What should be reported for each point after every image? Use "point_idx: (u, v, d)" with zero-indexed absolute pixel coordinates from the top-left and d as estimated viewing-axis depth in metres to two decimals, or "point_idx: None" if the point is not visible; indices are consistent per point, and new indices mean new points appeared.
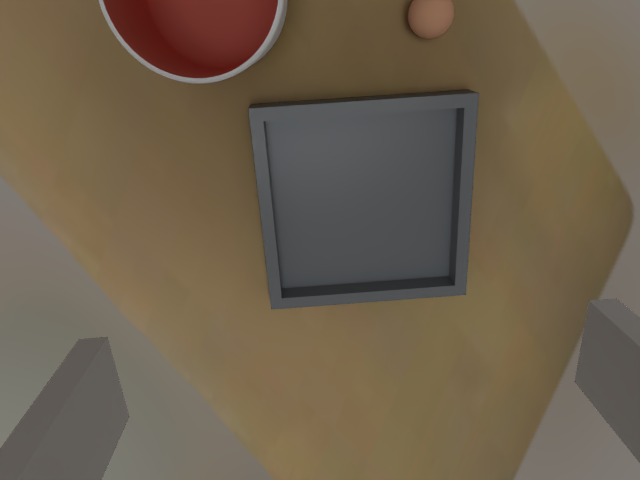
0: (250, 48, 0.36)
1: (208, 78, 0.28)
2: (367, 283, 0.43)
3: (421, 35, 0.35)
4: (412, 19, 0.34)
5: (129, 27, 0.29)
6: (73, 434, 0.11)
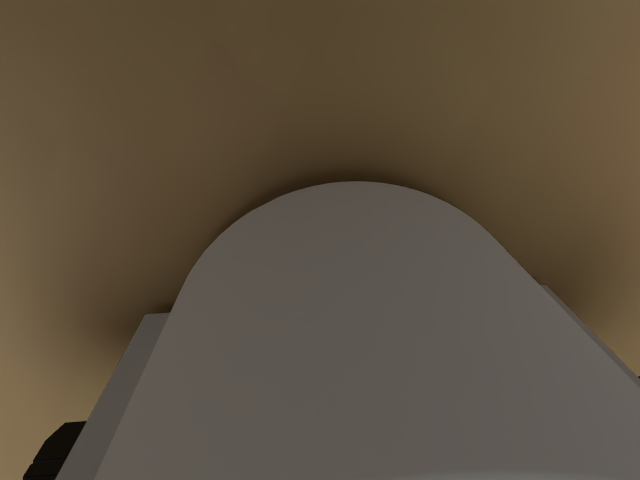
0: None
1: None
2: None
3: None
4: None
5: None
6: None
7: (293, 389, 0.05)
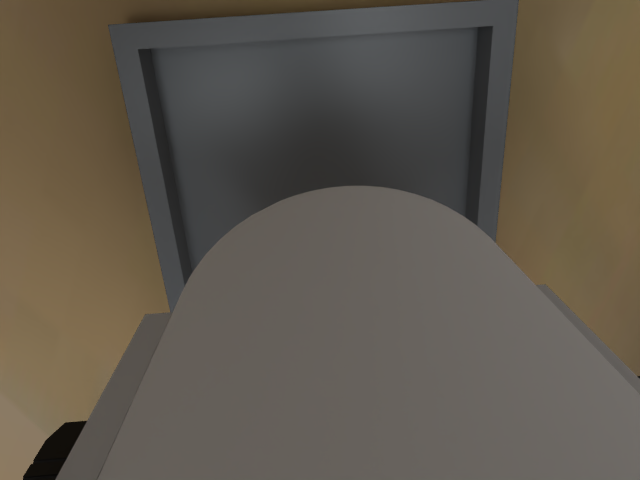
0: None
1: None
2: None
3: None
4: None
5: None
6: None
7: (294, 399, 0.05)
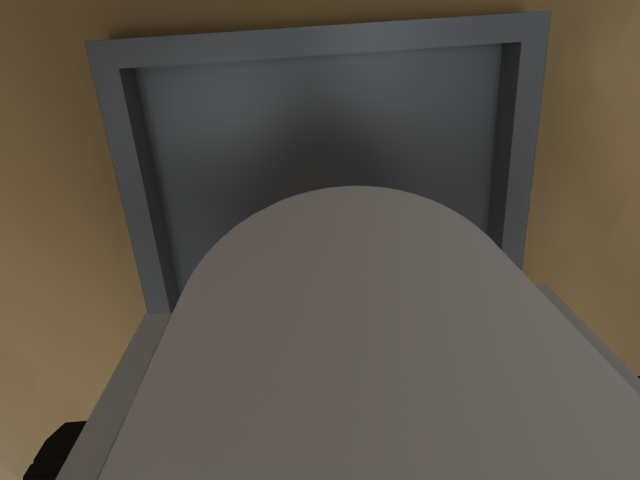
0: None
1: None
2: None
3: None
4: None
5: None
6: None
7: (294, 399, 0.05)
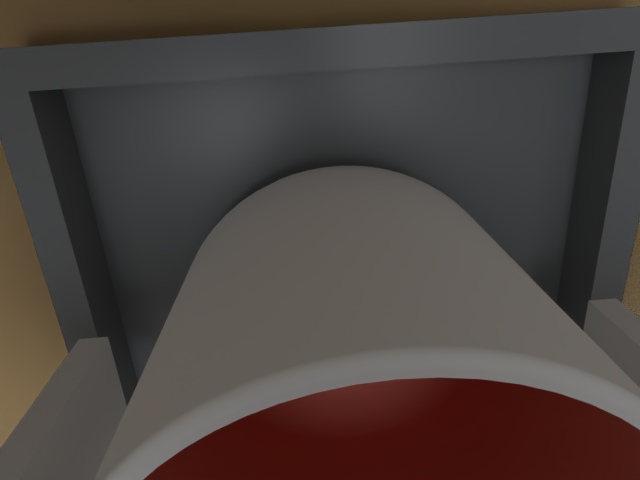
0: (400, 385, 0.18)
1: None
2: None
3: None
4: None
5: None
6: (73, 434, 0.11)
7: (294, 307, 0.07)
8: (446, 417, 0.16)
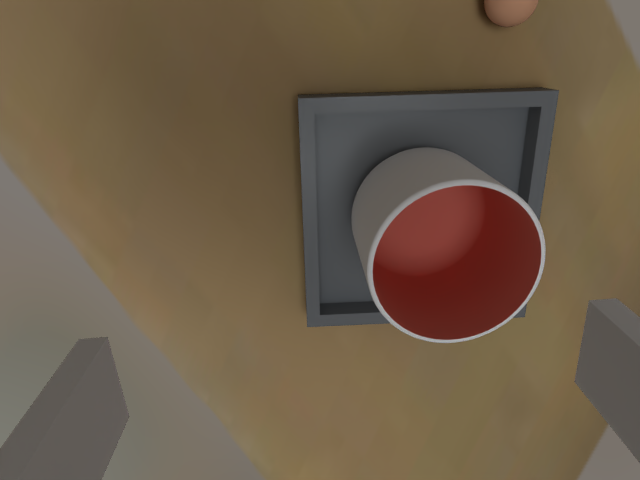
0: (440, 254, 0.37)
1: (455, 340, 0.29)
2: None
3: (499, 22, 0.30)
4: (491, 3, 0.30)
5: None
6: (73, 434, 0.11)
7: (434, 176, 0.26)
8: (463, 263, 0.36)
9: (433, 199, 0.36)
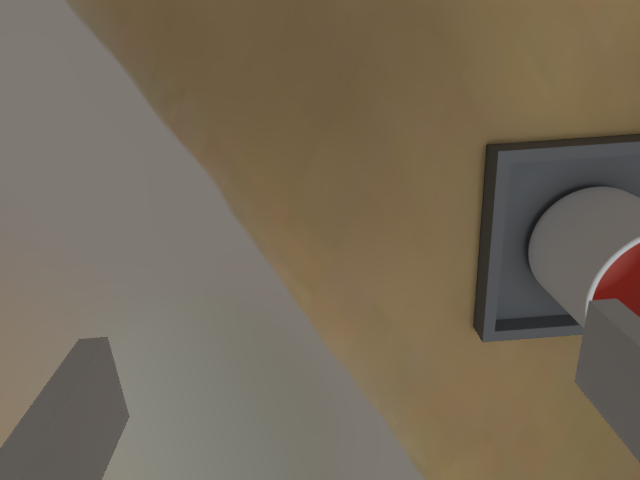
0: None
1: None
2: None
3: None
4: None
5: None
6: (73, 434, 0.11)
7: None
8: (625, 283, 0.41)
9: None
